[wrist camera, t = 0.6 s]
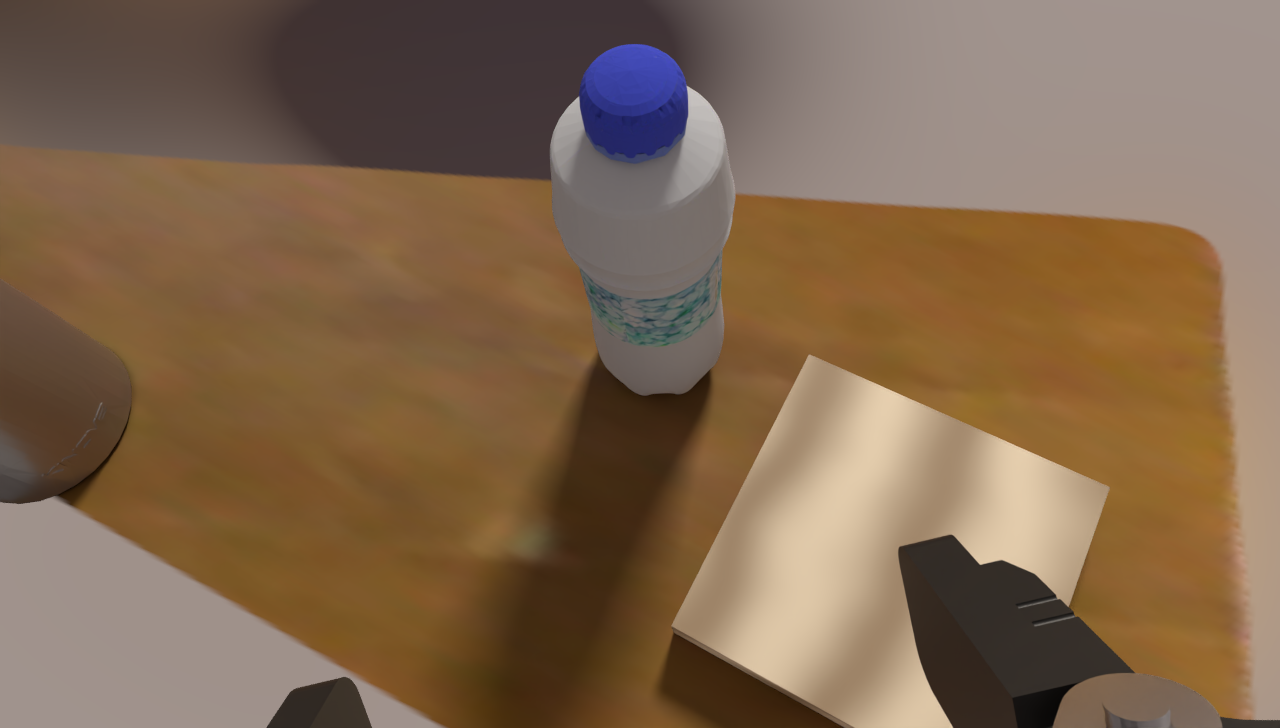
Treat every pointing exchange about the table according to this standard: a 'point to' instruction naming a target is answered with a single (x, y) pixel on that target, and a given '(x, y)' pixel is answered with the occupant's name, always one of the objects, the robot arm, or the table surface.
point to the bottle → (645, 216)
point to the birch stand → (870, 543)
